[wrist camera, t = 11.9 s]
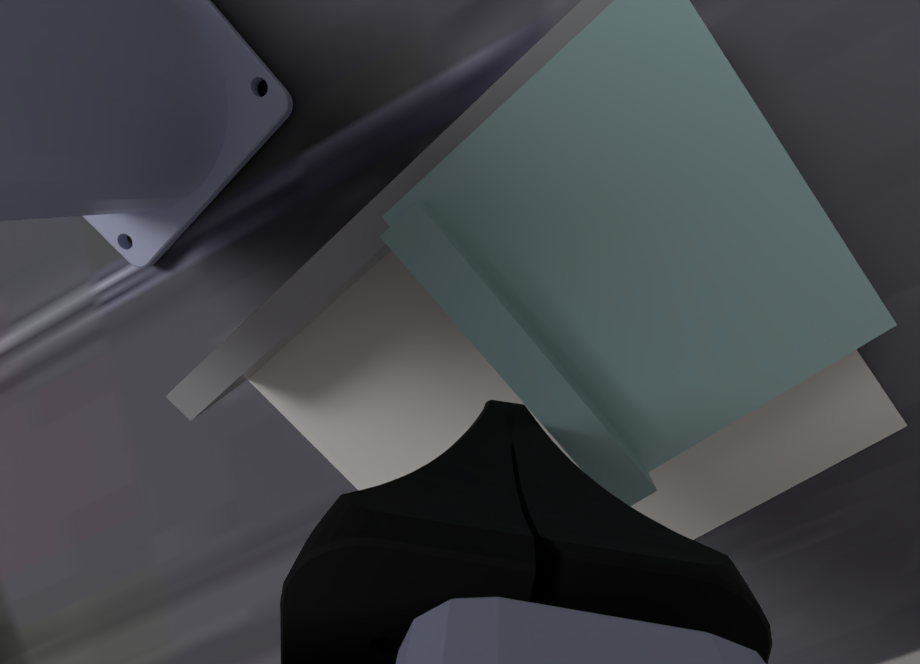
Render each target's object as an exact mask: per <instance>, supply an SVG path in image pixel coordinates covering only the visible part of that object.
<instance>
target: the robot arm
mask: <svg viewBox="0 0 920 664" xmlns="http://www.w3.org/2000/svg"><path fill="white" fill-rule="evenodd" d="M262 80H265V81H266V83H267V85H268V91H267V93H266V95H264V96H263V97H260V95H259V93H258V85H259V82H261V81H262ZM292 108H293V102H292V97H291V96H290V94H289V92H288V91H287V89H286V88H285V87H284V86H283V85H282V84H281V82H280V81H279V80H278V79H277V78H276V77H275V75H274V74H273V73H272V72H271V71H270V69H269V68H268V67H267V66H266V65H265V64H264V62H263V61H262V60H261V59H260V58H259V57H258V55H257V54H256V53H255V52H254V51H253V49H252V48H251V47H250V46H249V45H248V44H247V42H246V41H245V40H244V39H243V38H242V37H241V35H240V34H239V33H238V32H237V31H236V29H235V28H234V27H233V26H232V25H231V24H230V22H229V21H228V20H227V19H226V18H225V17H224V15H223V14H222V13H221V12H220V11H219V9H218V8H217V7H216V6H215V5H214V4H213V2H212V1H211V0H0V221H5V220H21V219H38V218H54V217H70V216H83V217H84V218H85V219H86V220H87V221H88V222H89V223H90V224H91V225H92V226H93V227H94V228H95V229H96V230H97V231H98V232H99V233H100V234H101V235H102V236H103V237H104V238H105V239H106V240H107V241H108V242H109V243H110V244H111V245H112V246H113V247H114V248H115V249H116V250H117V251H118V252H119V253H120V254H121V255H122V256H123V257H124V258H125V259H126V260H127V261H128V262H129V263H131V264H132V265H133V266H136V267H139V268H142V267H148V266H152V265H153V264H155V263H156V262H157V261H158V260H159V259H160V258H161V256H162V255H163V254H164V253H165V252H166V251H167V250H168V249H169V248H170V247H171V245H172V244H173V243H174V242H175V241H176V240H177V239H178V238H179V237H180V236H181V234H182V233H183V232H184V231H185V230H186V229H187V228H188V227H189V226H190V225H191V224H192V222H193V221H194V220H195V219H196V218H197V217H198V216H199V215H200V214H201V213H202V211H203V210H204V209H205V208H206V207H207V206H208V205H209V204H210V203H211V202H212V201H213V199H214V198H215V197H216V196H217V195H218V194H219V193H220V192H221V191H222V190H223V188H224V187H225V186H226V185H227V184H228V183H229V182H230V181H231V180H232V179H233V177H234V176H235V175H236V174H237V173H238V172H239V171H240V170H241V169H242V168H243V167H244V165H245V164H246V163H247V162H248V161H249V160H250V159H251V158H252V157H253V156H254V154H255V153H256V152H257V151H258V150H259V149H260V148H261V147H262V146H263V145H264V144H265V142H266V141H267V140H268V139H269V138H270V137H271V136H272V135H273V134H274V133H275V131H276V130H277V129H278V128H279V127H280V126H281V125H282V124H283V123H284V122H285V120H286V119H287V118H288V117H289V116H290V114H291V112H292ZM127 236H130V238H131V239H132V244H133V245H132V247H131V246H130V245H129V243H128V242H127ZM280 610H281V664H768V660H769V656H770V652H771V648H772V638H771V630H770V624H769V622H768V620H767V618H766V617H765V615H764V613H763V611H762V609H761V607H760V605H759V604H758V602H757V600H756V599H755V597H754V595H753V594H752V592H751V590H750V589H749V587H748V585H747V584H746V582H745V581H744V579H743V578H742V576H741V574H740V573H739V571H738V570H737V568H736V567H735V565H734V564H733V562H732V561H731V560H730V558H729V557H728V556H727V555H725V554H723V553H720V552H718V551H716V550H714V549H712V548H709V547H707V546H705V545H703V544H701V543H698V542H696V541H694V540H692V539H690V538H687V537H685V536H683V535H681V534H679V533H677V532H675V531H673V530H671V529H669V528H667V527H665V526H663V525H662V524H660V523H658V522H656V521H654V520H652V519H651V518H649V517H647V516H645V515H644V514H642V513H640V512H639V511H637V510H635V509H634V508H632V507H630V506H629V505H627V504H626V503H624V502H623V501H621V500H620V499H619V498H617V497H616V496H614V495H613V494H611V493H610V492H608V491H607V490H606V489H604V488H603V487H602V486H600V485H599V484H598V483H596V482H595V481H594V480H593V479H592V478H590V477H589V476H588V475H587V474H586V473H584V472H583V471H582V470H581V469H580V468H579V467H578V466H576V465H575V464H574V463H573V462H572V461H571V460H570V459H569V458H568V457H567V456H566V455H565V454H564V453H563V452H562V451H561V450H560V449H559V447H558V446H557V445H556V444H555V443H554V442H553V441H552V440H551V438H550V437H549V436H548V435H547V434H546V432H545V431H544V430H543V429H542V427H541V426H540V425H539V423H538V422H537V421H536V419H535V418H534V417H533V415H532V414H531V413H530V411H529V410H528V409H527V407H526V406H525V405H524V404H517V403H510V402H503V401H497V400H489V401H487V402H486V403H485V406H484V408H483V410H482V412H481V413H480V415H479V416H478V418H477V419H476V420H475V422H474V423H473V424H472V425H471V426H470V428H469V429H468V430H467V431H466V432H465V433H464V434H463V435H462V436H461V437H460V438H459V439H458V440H457V441H456V442H455V443H454V444H453V445H452V446H451V447H450V448H448V449H447V450H446V451H445V452H444V453H442V454H441V455H440V456H438V457H437V458H435V459H434V460H433V461H431V462H429V463H428V464H426V465H424V466H422V467H421V468H419V469H417V470H415V471H413V472H411V473H409V474H407V475H405V476H402V477H400V478H398V479H395V480H392V481H390V482H387V483H384V484H381V485H378V486H374V487H370V488H367V489H363V490H359V491H355V492H351V493H347V494H342V495H341V496H340V497H339V498H338V499H337V500H336V502H335V503H334V504H333V505H332V507H331V508H330V509H329V510H328V512H327V513H326V514H325V515H324V517H323V518H322V519H321V521H320V522H319V523H318V525H317V526H316V527H315V528H314V530H313V531H312V533H311V534H310V536H309V538H308V539H307V541H306V542H305V544H304V546H303V548H302V550H301V552H300V553H299V555H298V557H297V559H296V561H295V563H294V565H293V566H292V568H291V570H290V572H289V574H288V576H287V577H286V579H285V581H284V583H283V589H282V595H281V601H280Z"/></svg>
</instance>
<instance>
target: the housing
mask: <svg viewBox="0 0 920 664" xmlns="http://www.w3.org/2000/svg"><path fill="white" fill-rule="evenodd" d="M613 1H614V0H581V1H580V2H579V3H578V4H577V5H576V6H575V7H574V8H573V9H572V10H571V11H570V12H569V13H568V14H567V15H566V16H565V17H564V18H562V19H561V20H560V21H559V22H558V23H557V24H556V25H555V26H554V27H553V28H552V29H551V30H550V31H549V32H548V33H547V34H546V35H545V36H544V37H543V38H541V39H540V40H539V41H538V42H537V43H536V44H535V45H534V46H533V47H532V48H531V49H530V50H529V51H528V52H527V53H526V54H525V55H524V56H523V57H522V58H520V59H519V60H518V61H517V62H516V63H515V64H514V65H513V66H512V67H511V68H510V69H509V70H508V71H507V72H506V73H505V74H504V75H503V76H502V77H501V78H499V79H498V80H497V81H496V82H495V83H494V84H493V85H492V86H491V87H490V88H489V89H488V90H487V91H486V92H485V93H484V94H483V95H482V96H481V97H480V98H478V99H477V100H476V101H475V102H474V103H473V104H472V105H471V106H470V107H469V108H468V109H467V110H466V111H465V112H464V113H463V114H462V115H461V116H460V117H459V118H457V119H456V120H455V121H454V122H453V123H452V124H451V125H450V126H449V127H448V128H447V129H446V130H445V131H444V132H443V133H442V134H441V135H440V136H439V137H438V138H436V139H435V140H434V141H433V142H432V143H431V144H430V145H429V146H428V147H427V148H426V149H425V150H424V151H423V152H422V153H421V154H420V155H419V156H418V157H417V158H415V159H414V160H413V161H412V162H411V163H410V164H409V165H408V166H407V167H406V168H405V169H404V170H403V171H402V172H401V173H400V174H399V175H398V176H397V177H396V178H395V179H393V180H392V181H391V182H390V183H389V184H388V185H387V186H386V187H385V188H384V189H383V190H382V191H381V192H380V193H379V194H378V195H377V196H376V197H375V198H374V199H372V200H371V201H370V202H369V203H368V204H367V205H366V206H365V207H364V208H363V209H362V210H361V211H360V212H359V213H358V214H357V215H356V216H355V217H354V218H353V219H351V220H350V221H349V222H348V223H347V224H346V225H345V226H344V227H343V228H342V229H341V230H340V231H339V232H338V233H337V234H336V235H335V236H334V237H333V238H332V239H330V240H329V241H328V242H327V243H326V244H325V245H324V246H323V247H322V248H321V249H320V250H319V251H318V252H317V253H316V254H315V255H314V256H313V257H312V258H311V259H309V260H308V261H307V262H306V263H305V264H304V265H303V266H302V267H301V268H300V269H299V270H298V271H297V272H296V273H295V274H294V275H293V276H292V277H291V278H290V279H288V280H287V281H286V282H285V283H284V284H283V285H282V286H281V287H280V288H279V289H278V290H277V291H276V292H275V293H274V294H273V295H272V296H271V297H270V298H269V299H267V300H266V301H265V302H264V303H263V304H262V305H261V306H260V307H259V308H258V309H257V310H256V311H255V312H254V313H253V314H252V315H251V316H250V317H249V318H248V319H246V320H245V321H244V322H243V323H242V324H241V325H240V326H239V327H238V328H237V329H236V330H235V331H234V332H233V333H232V334H231V335H230V336H229V337H228V338H227V339H225V340H224V341H223V342H222V343H221V344H220V345H219V346H218V347H217V348H216V349H215V350H214V351H213V352H212V353H211V354H210V355H209V356H208V357H207V358H206V359H204V360H203V361H202V362H201V363H200V364H199V365H198V366H197V367H196V368H195V369H194V370H193V371H192V372H191V373H190V374H189V375H188V376H187V377H186V378H185V379H183V380H182V381H181V382H180V383H179V384H178V385H177V386H176V387H175V388H174V389H173V390H172V391H171V392H170V393H169V394H168V395H167V396H166V398H167V399H168V400H169V401H170V402H172V403H173V404H174V405H175V406H176V407H177V408H178V409H179V410H180V411H181V412H182V413H183V414H184V415H185V416H186V417H187V418H188V419H189V420H190V421H192V420H193V419H194V418H196V417H197V416H198V415H200V414H201V413H202V412H204V411H205V410H206V409H208V408H209V407H210V406H212V405H213V404H215V403H216V402H217V401H219V400H220V399H221V398H223V397H224V396H225V395H227V394H228V393H229V392H231V391H232V390H233V389H235V388H236V387H238V386H239V385H240V384H242V383H243V382H244V381H246V380H247V379H248V380H249V381H250V382H251V383H252V384H253V385H254V386H255V387H256V388H257V389H258V390H259V391H260V392H261V393H262V394H263V395H264V396H265V397H266V398H267V399H268V400H269V401H270V402H271V403H272V404H273V405H274V406H275V407H276V408H277V409H278V410H279V411H280V412H281V413H282V414H283V415H284V416H285V417H286V418H287V419H288V420H289V421H290V422H291V423H292V424H293V425H294V426H295V427H296V428H297V429H298V430H299V431H300V432H301V433H302V434H303V435H304V436H305V437H306V438H307V439H308V440H309V441H310V442H311V443H312V444H313V445H314V446H315V447H316V448H317V449H318V450H319V451H320V452H321V453H322V454H323V455H324V456H325V457H326V458H327V459H328V460H329V461H330V462H331V463H332V464H333V465H334V466H335V467H336V468H337V469H338V470H339V471H340V472H341V473H342V474H343V475H344V476H345V477H346V478H347V479H348V480H349V481H350V482H351V483H352V484H353V485H354V486H355V487H356V488H357V489H358V490H363V489H367V488H370V487H374V486H378V485H381V484H384V483H387V482H390V481H392V480H395V479H398V478H400V477H402V476H405V475H407V474H409V473H411V472H413V471H415V470H417V469H419V468H421V467H422V466H424V465H426V464H428V463H429V462H431V461H433V460H434V459H435V458H437V457H438V456H440V455H441V454H442V453H444V452H445V451H446V450H447V449H448V448H450V447H451V446H452V445H453V444H454V443H455V442H456V441H457V440H458V439H459V438H460V437H461V436H462V435H463V434H464V433H465V432H466V431H467V430H468V429H469V428H470V426H471V425H472V424H473V423H474V422H475V420H476V419H477V418H478V416H479V415H480V413H481V412H482V410H483V408H484V406H485V403H486V402H487V401H489V400H497V401H503V402H510V403H517V404H524V403H523V402H522V401H521V399H520V398H519V397H518V396H517V395H516V394H515V392H514V391H513V390H512V389H511V388H510V387H509V385H508V384H507V383H506V382H505V381H504V380H503V379H502V377H501V376H500V375H499V374H498V373H497V372H496V370H495V369H494V368H493V367H492V366H491V365H490V364H489V362H488V361H487V360H486V359H485V358H484V357H483V355H482V354H481V353H480V352H479V351H478V350H477V349H476V347H475V346H474V345H473V344H472V343H471V342H470V340H469V339H468V338H467V337H466V336H465V335H464V333H463V332H462V331H461V330H460V329H459V328H458V327H457V325H456V324H455V323H454V322H453V321H452V320H451V318H450V317H449V316H448V315H447V314H446V313H445V312H444V310H443V309H442V308H441V307H440V306H439V305H438V303H437V302H436V301H435V300H434V299H433V298H432V297H431V295H430V294H429V293H428V292H427V291H426V290H425V288H424V287H423V286H422V285H421V284H420V283H419V281H418V280H417V279H416V278H415V277H414V276H413V275H412V273H411V272H410V271H409V270H408V269H407V268H406V266H405V265H404V264H403V263H402V262H401V261H400V260H399V258H398V257H397V256H396V255H395V254H394V253H393V251H392V250H391V249H390V248H389V247H388V246H387V245H386V243H385V242H384V241H383V240H382V239H381V238H380V236H381V235H382V234H383V233H384V232H385V231H386V230H387V229H388V228H389V227H390V226H389V225H388V224H387V223H386V221H385V220H384V219H383V218H382V216H383V215H384V214H385V213H386V212H387V211H388V210H390V209H391V208H392V207H393V206H394V205H395V204H396V203H397V202H398V201H399V200H400V199H401V198H402V197H404V196H405V195H406V194H407V193H408V192H409V191H410V190H411V189H412V188H413V187H414V186H415V185H416V184H417V183H419V182H420V181H421V180H422V179H423V178H424V177H425V176H426V175H427V174H428V173H429V172H430V171H431V170H433V169H434V168H435V167H436V166H437V165H438V164H439V163H440V162H441V161H442V160H443V159H444V158H445V157H446V156H448V155H449V154H450V153H451V152H452V151H453V150H454V149H455V148H456V147H457V146H458V145H459V144H460V143H462V142H463V141H464V140H465V139H466V138H467V137H468V136H469V135H470V134H471V133H472V132H473V131H474V130H475V129H477V128H478V127H479V126H480V125H481V124H482V123H483V122H484V121H485V120H486V119H487V118H488V117H489V116H490V115H492V114H493V113H494V112H495V111H496V110H497V109H498V108H499V107H500V106H501V105H502V104H503V103H504V102H506V101H507V100H508V99H509V98H510V97H511V96H512V95H513V94H514V93H515V92H516V91H517V90H518V89H519V88H521V87H522V86H523V85H524V84H525V83H526V82H527V81H528V80H529V79H530V78H531V77H532V76H533V75H535V74H536V73H537V72H538V71H539V70H540V69H541V68H542V67H543V66H544V65H545V64H546V63H547V62H548V61H550V60H551V59H552V58H553V57H554V56H555V55H556V54H557V53H558V52H559V51H560V50H561V49H562V48H564V47H565V46H566V45H567V44H568V43H569V42H570V41H571V40H572V39H573V38H574V37H575V36H576V35H577V34H579V33H580V32H581V31H582V30H583V29H584V28H585V27H586V26H587V25H588V24H589V23H590V22H591V21H593V20H594V19H595V18H596V17H597V16H598V15H599V14H600V13H601V12H602V11H603V10H604V9H605V8H606V7H608V6H609V5H610V4H611V3H612V2H613ZM524 405H525V404H524ZM525 406H526V405H525ZM526 407H527V406H526ZM527 409H528V407H527ZM528 410H529V409H528ZM529 411H530V410H529ZM530 413H531V414H532V415H533V417H534V418H535V419H536V421H537V422H538V423H539V425H540V426H541V427H542V429H543V430H544V431H545V432H546V434H547V435H548V436H549V437H550V438H551V440H552V441H553V442H554V443H555V444H556V445H557V446H558V447H559V449H560V450H561V451H562V452H563V453H564V454H565V455H566V456H567V457H568V458H569V459H570V460H571V461H572V462H573V463H574V464H575V465H576V466H578V465H577V464H576V463H575V462H574V461H573V459H572V458H571V457H570V456H569V455H568V454H567V453H566V451H565V450H564V449H563V448H562V447H561V446H560V444H559V443H558V442H557V441H556V440H555V439H554V437H553V436H552V435H551V434H550V433H549V432H548V431H547V429H546V428H545V427H544V426H543V425H542V424H541V422H540V421H539V420H538V419H537V418H536V417H535V416H534V414H533V413H532V412H531V411H530ZM906 426H907V424H906V423H905V421H904V420H903V418H902V417H901V415H900V414H899V412H898V411H897V409H896V408H895V406H894V405H893V403H892V402H891V400H890V399H889V397H888V396H887V394H886V393H885V391H884V390H883V388H882V387H881V385H880V384H879V382H878V381H877V379H876V378H875V376H874V375H873V373H872V372H871V370H870V369H869V367H868V366H867V364H866V363H865V361H864V360H863V358H862V357H861V355H860V354H859V353H858V351H857V350H854V351H853V352H851V353H849V354H847V355H846V356H844V357H842V358H841V359H839V360H837V361H836V362H834V363H832V364H831V365H829V366H827V367H826V368H824V369H822V370H820V371H819V372H817V373H815V374H814V375H812V376H810V377H809V378H807V379H805V380H804V381H802V382H800V383H799V384H797V385H795V386H793V387H792V388H790V389H788V390H787V391H785V392H783V393H782V394H780V395H778V396H777V397H775V398H773V399H772V400H770V401H768V402H766V403H765V404H763V405H761V406H760V407H758V408H756V409H755V410H753V411H751V412H750V413H748V414H746V415H745V416H743V417H741V418H739V419H738V420H736V421H734V422H733V423H731V424H729V425H728V426H726V427H724V428H723V429H721V430H719V431H718V432H716V433H714V434H712V435H711V436H709V437H707V438H706V439H704V440H702V441H701V442H699V443H697V444H696V445H694V446H692V447H691V448H689V449H687V450H685V451H684V452H682V453H680V454H679V455H677V456H675V457H674V458H672V459H670V460H669V461H667V462H665V463H664V464H662V465H660V466H658V467H657V468H655V469H653V470H652V471H650V472H648V473H649V475H650V477H651V479H652V481H653V483H654V485H655V487H656V489H657V491H656V492H654V493H653V494H651V495H649V496H647V497H646V498H644V499H642V500H641V501H639V502H637V503H635V504H634V505H632V506H630V507H632V508H634V509H635V510H637V511H639V512H640V513H642V514H644V515H645V516H647V517H649V518H651V519H652V520H654V521H656V522H658V523H660V524H662V525H663V526H665V527H667V528H669V529H671V530H673V531H675V532H677V533H679V534H681V535H683V536H685V537H687V538H690V539H692V540H694V539H696V538H697V537H699V536H701V535H703V534H705V533H707V532H709V531H711V530H713V529H714V528H716V527H718V526H720V525H722V524H724V523H726V522H728V521H729V520H731V519H733V518H735V517H737V516H739V515H741V514H743V513H745V512H746V511H748V510H750V509H752V508H754V507H756V506H758V505H760V504H761V503H763V502H765V501H767V500H769V499H771V498H773V497H775V496H777V495H778V494H780V493H782V492H784V491H786V490H788V489H790V488H792V487H793V486H795V485H797V484H799V483H801V482H803V481H805V480H807V479H808V478H810V477H812V476H814V475H816V474H818V473H820V472H822V471H824V470H825V469H827V468H829V467H831V466H833V465H835V464H837V463H839V462H840V461H842V460H844V459H846V458H848V457H850V456H852V455H854V454H856V453H857V452H859V451H861V450H863V449H865V448H867V447H869V446H871V445H872V444H874V443H876V442H878V441H880V440H882V439H884V438H886V437H888V436H889V435H891V434H893V433H895V432H897V431H899V430H901V429H903V428H904V427H906ZM578 467H579V466H578Z"/></svg>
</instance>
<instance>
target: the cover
mask: <svg viewBox="0 0 920 664" xmlns="http://www.w3.org/2000/svg"><path fill="white" fill-rule="evenodd" d="M382 218H383V219H384V220H385V221H386V223H387V224H388V225H389V226H390V227H389V228H388V229H387V230H386V231H385V232H384V233H383V234H382V235H381V236H380V238H381V239H382V240H383V241H384V242H385V243H386V245H387V246H388V247H389V248H390V249H391V250H392V251H393V253H394V254H395V255H396V256H397V257H398V258H399V260H400V261H401V262H402V263H403V264H404V265H405V266H406V268H407V269H408V270H409V271H410V272H411V273H412V275H413V276H414V277H415V278H416V279H417V280H418V281H419V283H420V284H421V285H422V286H423V287H424V288H425V290H426V291H427V292H428V293H429V294H430V295H431V297H432V298H433V299H434V300H435V301H436V302H437V303H438V305H439V306H440V307H441V308H442V309H443V310H444V312H445V313H446V314H447V315H448V316H449V317H450V318H451V320H452V321H453V322H454V323H455V324H456V325H457V327H458V328H459V329H460V330H461V331H462V332H463V333H464V335H465V336H466V337H467V338H468V339H469V340H470V342H471V343H472V344H473V345H474V346H475V347H476V349H477V350H478V351H479V352H480V353H481V354H482V355H483V357H484V358H485V359H486V360H487V361H488V362H489V364H490V365H491V366H492V367H493V368H494V369H495V370H496V372H497V373H498V374H499V375H500V376H501V377H502V379H503V380H504V381H505V382H506V383H507V384H508V385H509V387H510V388H511V389H512V390H513V391H514V392H515V394H516V395H517V396H518V397H519V398H520V399H521V401H522V402H523V403H524V404H525V405H526V406H527V407H528V409H529V410H530V411H531V412H532V413H533V414H534V416H535V417H536V418H537V419H538V420H539V421H540V422H541V424H542V425H543V426H544V427H545V428H546V429H547V431H548V432H549V433H550V434H551V435H552V436H553V437H554V439H555V440H556V441H557V442H558V443H559V444H560V446H561V447H562V448H563V449H564V450H565V451H566V453H567V454H568V455H569V456H570V457H571V458H572V459H573V461H574V462H575V463H576V464H577V465H578V466H579V468H580V469H581V470H582V471H583V472H584V473H586V474H587V475H588V476H589V477H590V478H592V479H593V480H594V481H595V482H596V483H598V484H599V485H600V486H602V487H603V488H604V489H606V490H607V491H608V492H610V493H611V494H613V495H614V496H616V497H617V498H619V499H620V500H621V501H623V502H624V503H626V504H627V505H629V506H632V505H634V504H635V503H637V502H639V501H641V500H642V499H644V498H646V497H647V496H649V495H651V494H653V493H654V492H656V491H657V489H656V487H655V485H654V483H653V481H652V479H651V477H650V475H649V473H648V472H650V471H652V470H653V469H655V468H657V467H658V466H660V465H662V464H664V463H665V462H667V461H669V460H670V459H672V458H674V457H675V456H677V455H679V454H680V453H682V452H684V451H685V450H687V449H689V448H691V447H692V446H694V445H696V444H697V443H699V442H701V441H702V440H704V439H706V438H707V437H709V436H711V435H712V434H714V433H716V432H718V431H719V430H721V429H723V428H724V427H726V426H728V425H729V424H731V423H733V422H734V421H736V420H738V419H739V418H741V417H743V416H745V415H746V414H748V413H750V412H751V411H753V410H755V409H756V408H758V407H760V406H761V405H763V404H765V403H766V402H768V401H770V400H772V399H773V398H775V397H777V396H778V395H780V394H782V393H783V392H785V391H787V390H788V389H790V388H792V387H793V386H795V385H797V384H799V383H800V382H802V381H804V380H805V379H807V378H809V377H810V376H812V375H814V374H815V373H817V372H819V371H820V370H822V369H824V368H826V367H827V366H829V365H831V364H832V363H834V362H836V361H837V360H839V359H841V358H842V357H844V356H846V355H847V354H849V353H851V352H853V351H854V350H856V349H858V348H859V347H861V346H863V345H864V344H866V343H868V342H869V341H871V340H873V339H874V338H876V337H878V336H880V335H881V334H883V333H885V332H886V331H888V330H890V329H891V328H893V327H895V326H896V325H897V324H896V322H895V321H894V319H893V318H892V316H891V315H890V313H889V311H888V310H887V308H886V307H885V305H884V304H883V302H882V301H881V299H880V297H879V296H878V294H877V293H876V291H875V290H874V288H873V286H872V285H871V283H870V282H869V280H868V279H867V277H866V276H865V274H864V272H863V271H862V269H861V268H860V266H859V265H858V263H857V261H856V260H855V258H854V257H853V255H852V254H851V252H850V251H849V249H848V247H847V246H846V244H845V243H844V241H843V240H842V238H841V236H840V235H839V233H838V232H837V230H836V229H835V227H834V226H833V224H832V222H831V221H830V219H829V218H828V216H827V215H826V213H825V211H824V210H823V208H822V207H821V205H820V204H819V202H818V201H817V199H816V197H815V196H814V194H813V193H812V191H811V190H810V188H809V186H808V185H807V183H806V182H805V180H804V179H803V177H802V176H801V174H800V172H799V171H798V169H797V168H796V166H795V165H794V163H793V161H792V160H791V158H790V157H789V155H788V154H787V152H786V150H785V149H784V147H783V146H782V144H781V143H780V141H779V140H778V138H777V136H776V135H775V133H774V132H773V130H772V129H771V127H770V125H769V124H768V122H767V121H766V119H765V118H764V116H763V115H762V113H761V111H760V110H759V108H758V107H757V105H756V104H755V102H754V100H753V99H752V97H751V96H750V94H749V93H748V91H747V90H746V88H745V86H744V85H743V83H742V82H741V80H740V79H739V77H738V75H737V74H736V72H735V71H734V69H733V68H732V66H731V65H730V63H729V61H728V60H727V58H726V57H725V55H724V54H723V52H722V50H721V49H720V47H719V46H718V44H717V43H716V41H715V40H714V38H713V36H712V35H711V33H710V32H709V30H708V29H707V27H706V25H705V24H704V22H703V21H702V19H701V18H700V16H699V15H698V13H697V11H696V10H695V8H694V7H693V5H692V4H691V2H690V0H614V1H613V2H612V3H611V4H610V5H609V6H608V7H606V8H605V9H604V10H603V11H602V12H601V13H600V14H599V15H598V16H597V17H596V18H595V19H594V20H593V21H591V22H590V23H589V24H588V25H587V26H586V27H585V28H584V29H583V30H582V31H581V32H580V33H579V34H577V35H576V36H575V37H574V38H573V39H572V40H571V41H570V42H569V43H568V44H567V45H566V46H565V47H564V48H562V49H561V50H560V51H559V52H558V53H557V54H556V55H555V56H554V57H553V58H552V59H551V60H550V61H548V62H547V63H546V64H545V65H544V66H543V67H542V68H541V69H540V70H539V71H538V72H537V73H536V74H535V75H533V76H532V77H531V78H530V79H529V80H528V81H527V82H526V83H525V84H524V85H523V86H522V87H521V88H519V89H518V90H517V91H516V92H515V93H514V94H513V95H512V96H511V97H510V98H509V99H508V100H507V101H506V102H504V103H503V104H502V105H501V106H500V107H499V108H498V109H497V110H496V111H495V112H494V113H493V114H492V115H490V116H489V117H488V118H487V119H486V120H485V121H484V122H483V123H482V124H481V125H480V126H479V127H478V128H477V129H475V130H474V131H473V132H472V133H471V134H470V135H469V136H468V137H467V138H466V139H465V140H464V141H463V142H462V143H460V144H459V145H458V146H457V147H456V148H455V149H454V150H453V151H452V152H451V153H450V154H449V155H448V156H446V157H445V158H444V159H443V160H442V161H441V162H440V163H439V164H438V165H437V166H436V167H435V168H434V169H433V170H431V171H430V172H429V173H428V174H427V175H426V176H425V177H424V178H423V179H422V180H421V181H420V182H419V183H417V184H416V185H415V186H414V187H413V188H412V189H411V190H410V191H409V192H408V193H407V194H406V195H405V196H404V197H402V198H401V199H400V200H399V201H398V202H397V203H396V204H395V205H394V206H393V207H392V208H391V209H390V210H388V211H387V212H386V213H385V214H384V215H383V216H382Z"/></svg>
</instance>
